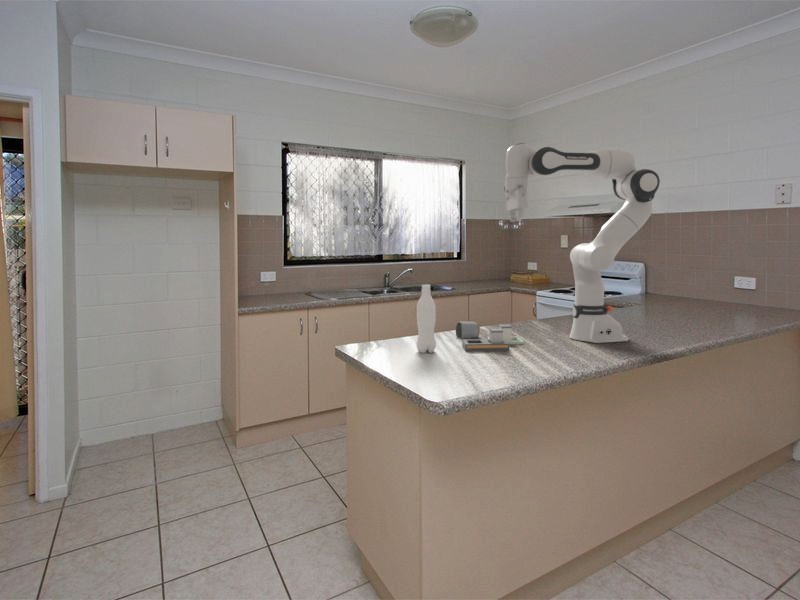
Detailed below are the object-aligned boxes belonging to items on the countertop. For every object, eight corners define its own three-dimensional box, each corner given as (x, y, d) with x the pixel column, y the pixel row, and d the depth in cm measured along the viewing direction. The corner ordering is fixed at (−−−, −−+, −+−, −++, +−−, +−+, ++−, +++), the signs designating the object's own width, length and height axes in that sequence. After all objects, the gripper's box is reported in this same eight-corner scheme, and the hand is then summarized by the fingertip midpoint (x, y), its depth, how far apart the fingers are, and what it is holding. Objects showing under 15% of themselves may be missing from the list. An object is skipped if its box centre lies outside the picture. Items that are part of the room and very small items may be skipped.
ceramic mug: (480, 340, 202) (480, 321, 201) (462, 341, 199) (462, 323, 199) (469, 335, 212) (469, 318, 211) (451, 337, 210) (451, 319, 209)
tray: (517, 340, 200) (517, 336, 199) (523, 346, 190) (523, 341, 190) (487, 341, 200) (487, 336, 199) (492, 347, 190) (492, 342, 189)
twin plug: (500, 346, 186) (500, 328, 185) (502, 349, 182) (502, 330, 181) (489, 346, 186) (489, 328, 185) (491, 349, 181) (491, 330, 181)
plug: (509, 341, 197) (509, 324, 196) (511, 344, 193) (511, 326, 192) (498, 341, 197) (499, 324, 196) (501, 344, 193) (501, 326, 192)
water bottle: (439, 350, 184) (439, 284, 181) (430, 354, 178) (430, 286, 175) (422, 348, 188) (421, 283, 185) (413, 352, 182) (412, 285, 179)
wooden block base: (504, 348, 188) (504, 339, 187) (509, 353, 180) (509, 343, 179) (462, 348, 187) (462, 339, 187) (465, 353, 179) (465, 344, 179)
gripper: (532, 183, 184) (531, 220, 186) (518, 188, 204) (517, 222, 206) (515, 183, 184) (514, 220, 186) (502, 188, 204) (502, 222, 206)
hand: (515, 221), depth 196 cm, fingers open, 8 cm apart
